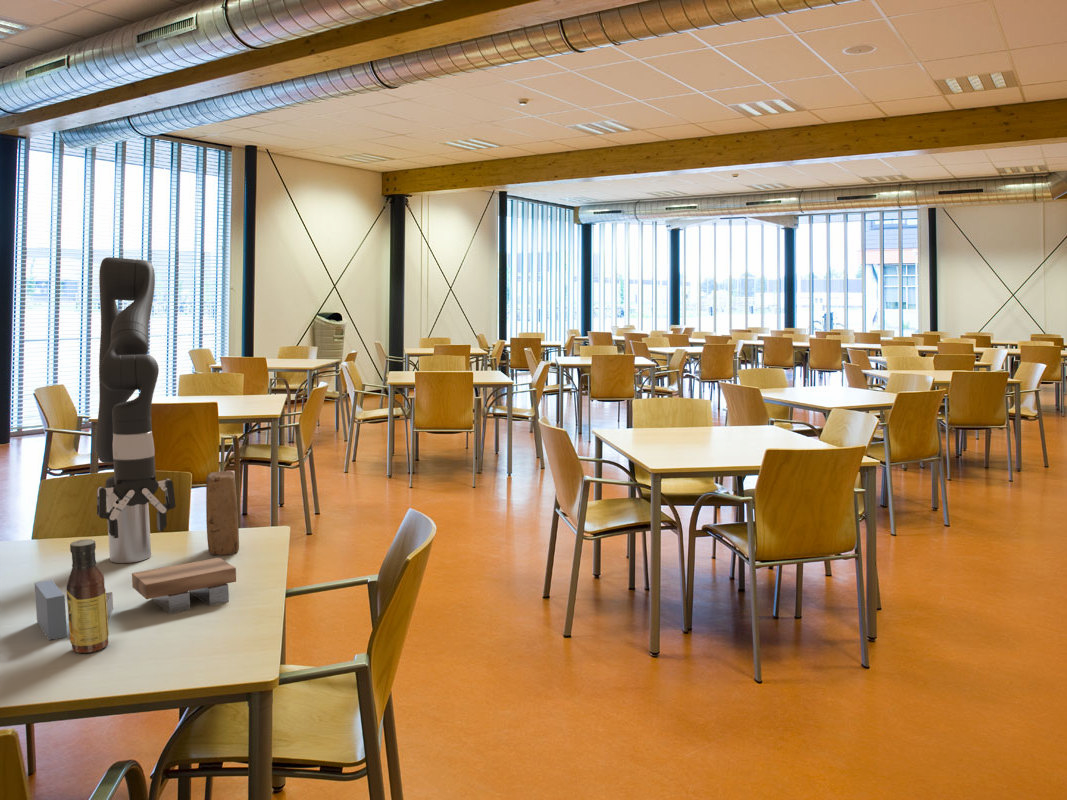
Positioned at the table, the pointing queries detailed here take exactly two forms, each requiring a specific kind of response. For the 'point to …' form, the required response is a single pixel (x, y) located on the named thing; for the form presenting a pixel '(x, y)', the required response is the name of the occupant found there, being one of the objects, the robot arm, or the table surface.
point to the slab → (183, 578)
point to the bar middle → (174, 602)
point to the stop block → (51, 609)
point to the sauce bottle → (86, 600)
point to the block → (221, 513)
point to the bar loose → (109, 603)
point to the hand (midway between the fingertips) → (138, 534)
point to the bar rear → (213, 594)
